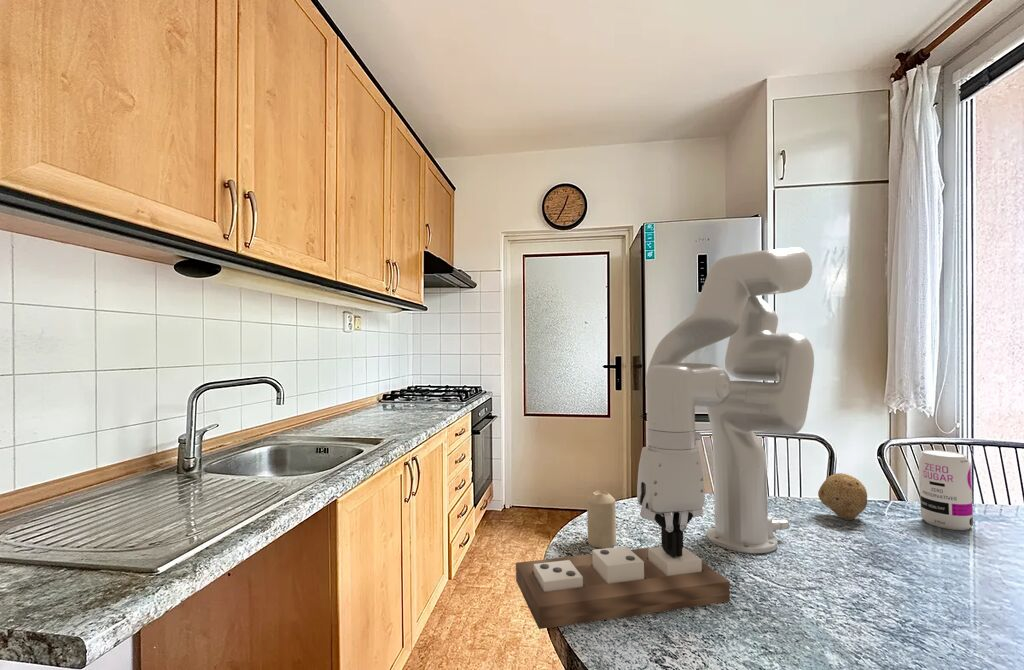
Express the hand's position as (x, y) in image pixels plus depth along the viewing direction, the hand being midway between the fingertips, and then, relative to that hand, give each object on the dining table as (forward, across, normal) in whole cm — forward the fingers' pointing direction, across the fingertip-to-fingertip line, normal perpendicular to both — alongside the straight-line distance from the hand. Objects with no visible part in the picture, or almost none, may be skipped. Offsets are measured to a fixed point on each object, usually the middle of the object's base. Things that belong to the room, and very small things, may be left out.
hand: (672, 553), depth 77 cm
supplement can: (+4, -70, -9) cm, 71 cm away
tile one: (+3, 0, 0) cm, 3 cm away
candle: (+5, +4, -18) cm, 20 cm away
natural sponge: (+4, -52, -17) cm, 55 cm away
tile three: (+4, +20, 0) cm, 20 cm away
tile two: (+3, +10, 0) cm, 10 cm away
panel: (+5, +10, 0) cm, 11 cm away
